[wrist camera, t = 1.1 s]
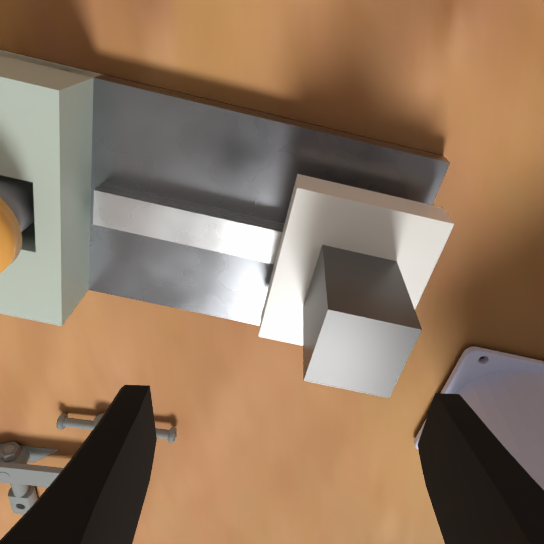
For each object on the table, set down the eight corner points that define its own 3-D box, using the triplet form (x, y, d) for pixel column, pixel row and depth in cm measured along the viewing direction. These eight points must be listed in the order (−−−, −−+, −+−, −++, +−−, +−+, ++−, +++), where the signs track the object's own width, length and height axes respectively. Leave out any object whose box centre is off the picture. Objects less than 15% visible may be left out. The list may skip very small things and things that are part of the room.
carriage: (443, 207, 19) (497, 286, 14) (384, 341, 22) (409, 444, 17) (297, 173, 18) (295, 241, 13) (261, 315, 22) (248, 413, 17)
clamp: (-43, 516, 32) (-86, 414, 27) (-24, 487, 34) (-60, 387, 29) (174, 539, 32) (171, 441, 27) (181, 509, 34) (180, 412, 29)
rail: (443, 155, 20) (457, 170, 18) (368, 337, 25) (373, 362, 23) (-23, 44, 19) (-56, 48, 17) (-3, 258, 24) (-27, 278, 22)
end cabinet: (103, 74, 19) (58, 90, 16) (96, 279, 24) (61, 326, 21) (-23, 44, 19) (-96, 53, 15) (-3, 258, 24) (-55, 302, 20)
